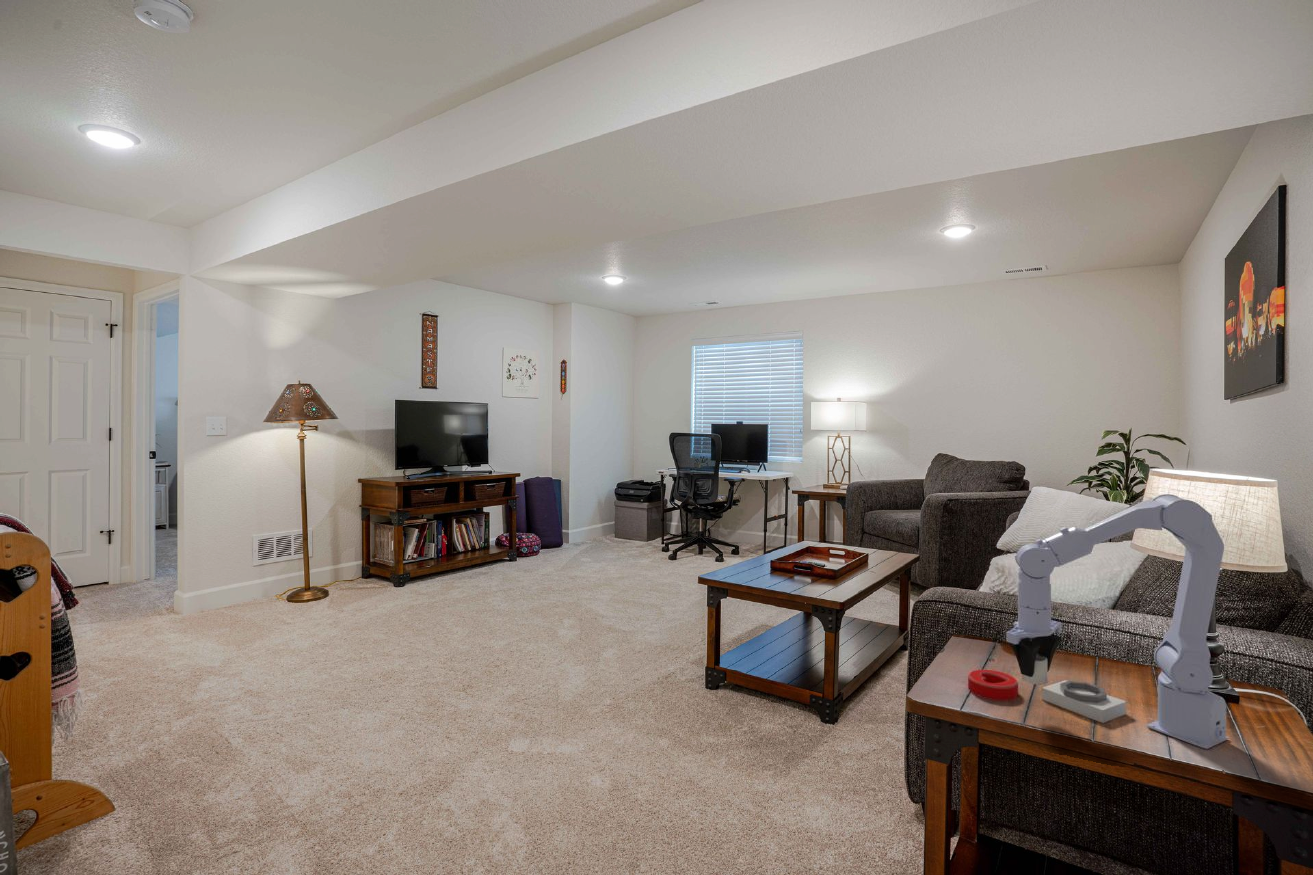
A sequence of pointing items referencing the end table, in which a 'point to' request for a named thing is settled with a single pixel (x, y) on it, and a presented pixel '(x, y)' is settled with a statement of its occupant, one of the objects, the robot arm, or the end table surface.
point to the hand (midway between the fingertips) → (1034, 672)
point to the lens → (1038, 671)
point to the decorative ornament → (993, 684)
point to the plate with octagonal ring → (1084, 700)
